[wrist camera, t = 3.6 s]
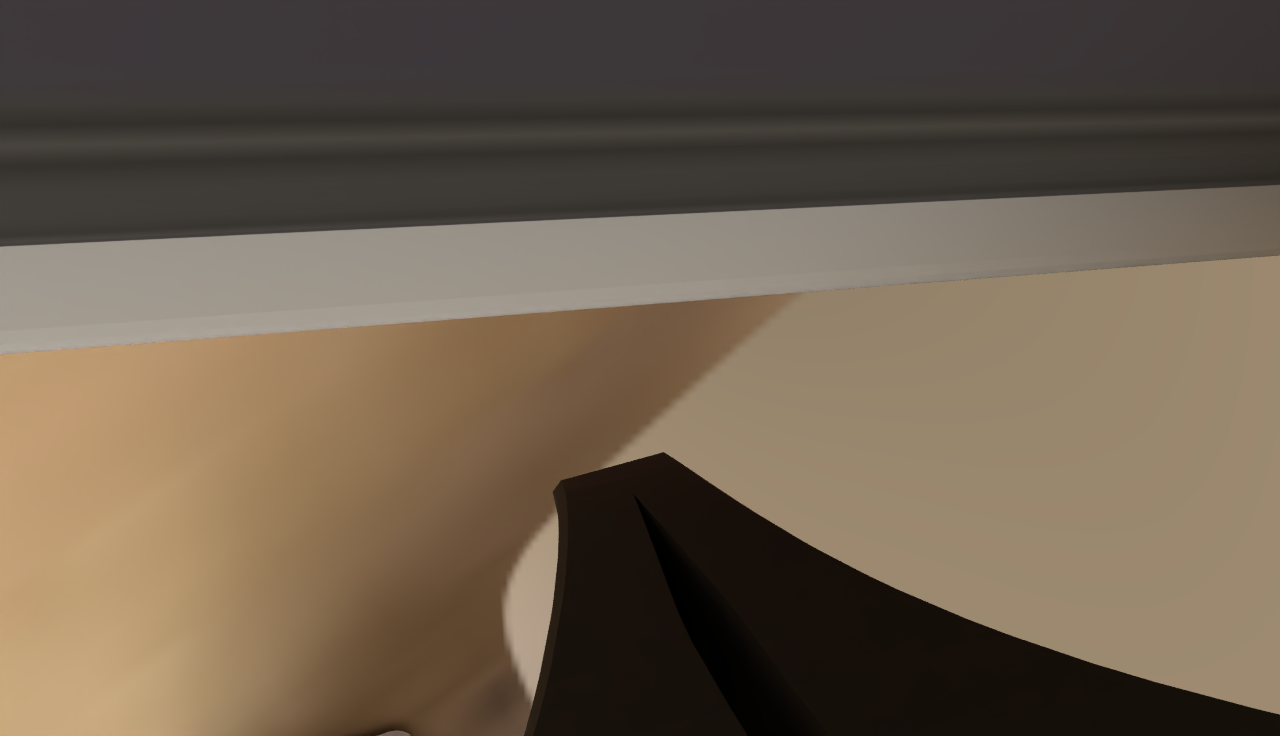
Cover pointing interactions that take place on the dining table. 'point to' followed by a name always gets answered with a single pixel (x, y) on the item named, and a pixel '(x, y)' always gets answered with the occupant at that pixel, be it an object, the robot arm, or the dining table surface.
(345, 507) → the dining table surface
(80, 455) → the dining table surface
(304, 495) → the dining table surface
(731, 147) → the calculator
